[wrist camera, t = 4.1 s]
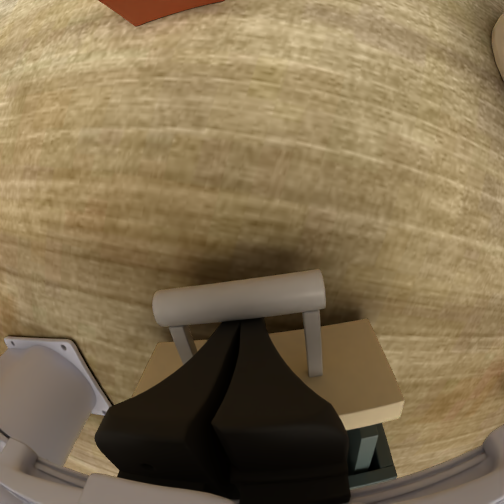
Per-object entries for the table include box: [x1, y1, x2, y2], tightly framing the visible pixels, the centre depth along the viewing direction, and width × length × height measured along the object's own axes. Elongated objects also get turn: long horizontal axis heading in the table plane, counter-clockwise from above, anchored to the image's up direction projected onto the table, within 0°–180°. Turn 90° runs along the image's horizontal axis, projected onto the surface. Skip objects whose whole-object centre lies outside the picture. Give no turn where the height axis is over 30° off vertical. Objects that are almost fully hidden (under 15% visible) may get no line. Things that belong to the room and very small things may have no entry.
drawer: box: [132, 269, 405, 476], centre depth 14 cm, size 18×11×6 cm, turn 10°
